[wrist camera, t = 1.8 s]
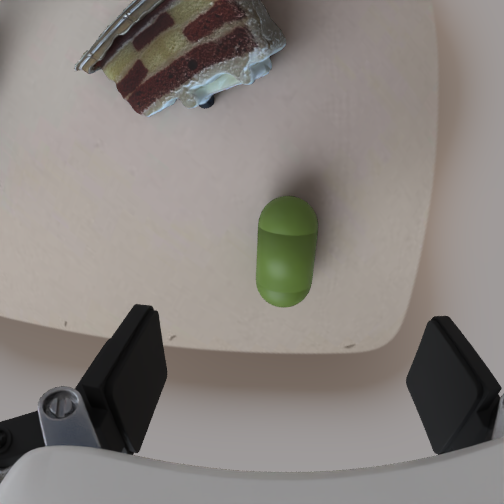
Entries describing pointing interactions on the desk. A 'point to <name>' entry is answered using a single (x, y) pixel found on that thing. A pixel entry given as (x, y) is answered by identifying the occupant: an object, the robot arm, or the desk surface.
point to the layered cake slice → (184, 50)
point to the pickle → (286, 251)
